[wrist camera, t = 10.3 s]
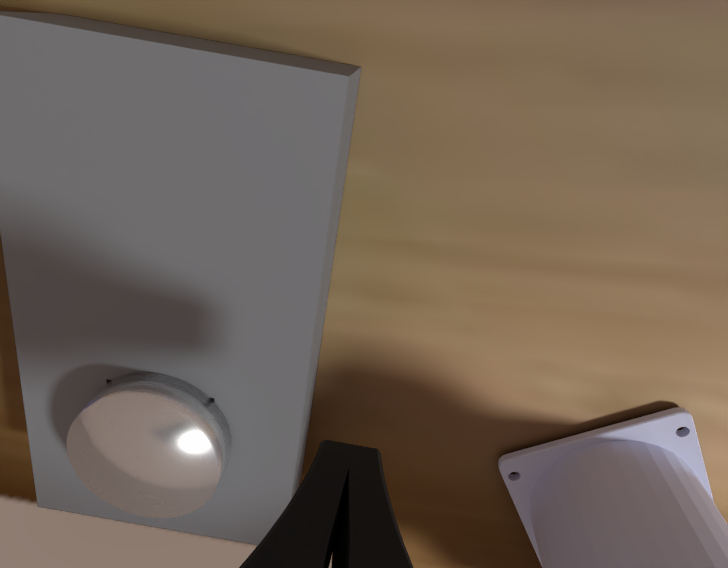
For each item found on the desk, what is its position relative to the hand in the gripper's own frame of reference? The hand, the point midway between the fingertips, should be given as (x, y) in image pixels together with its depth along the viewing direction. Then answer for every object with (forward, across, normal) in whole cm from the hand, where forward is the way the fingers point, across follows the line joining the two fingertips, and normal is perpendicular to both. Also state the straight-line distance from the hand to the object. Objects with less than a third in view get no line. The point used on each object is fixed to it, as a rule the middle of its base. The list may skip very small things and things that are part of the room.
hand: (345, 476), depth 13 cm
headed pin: (+9, +7, +5) cm, 12 cm away
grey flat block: (+9, +7, +1) cm, 12 cm away
